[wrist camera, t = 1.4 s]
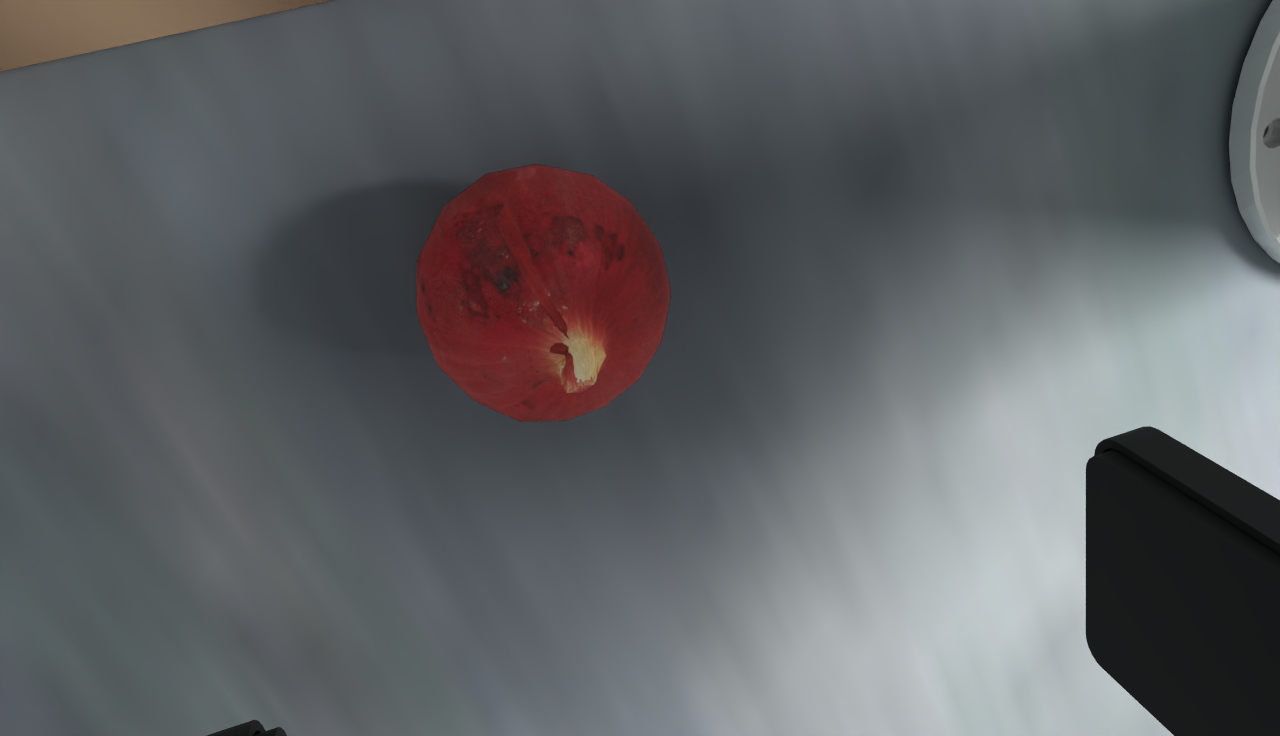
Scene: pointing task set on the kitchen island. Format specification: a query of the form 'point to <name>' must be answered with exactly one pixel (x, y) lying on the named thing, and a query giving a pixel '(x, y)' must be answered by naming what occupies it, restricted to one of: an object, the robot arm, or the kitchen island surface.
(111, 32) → the cutting board
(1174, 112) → the kitchen island surface
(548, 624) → the kitchen island surface
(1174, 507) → the robot arm
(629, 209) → the red round fruit
